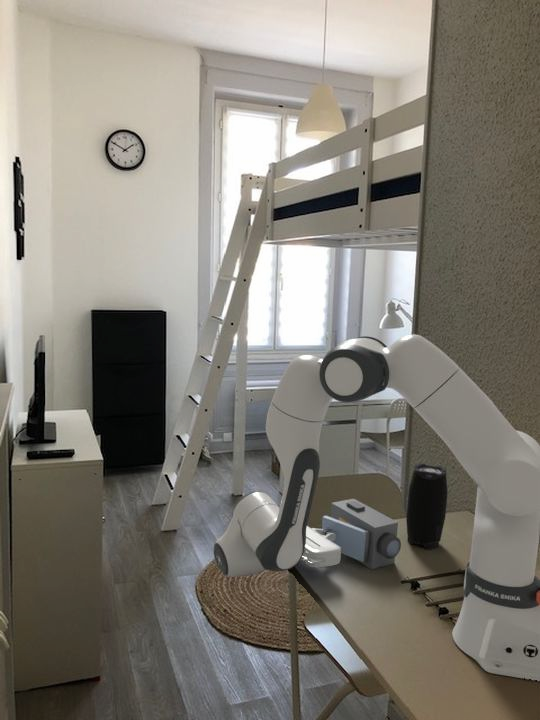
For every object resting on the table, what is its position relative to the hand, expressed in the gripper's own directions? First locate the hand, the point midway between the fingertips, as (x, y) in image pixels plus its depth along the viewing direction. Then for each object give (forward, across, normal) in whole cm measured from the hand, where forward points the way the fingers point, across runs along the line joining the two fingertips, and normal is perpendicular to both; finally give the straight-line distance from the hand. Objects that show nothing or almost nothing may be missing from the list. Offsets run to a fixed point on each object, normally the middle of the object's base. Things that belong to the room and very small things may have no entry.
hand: (331, 534), depth 143 cm
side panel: (+2, -3, +4) cm, 5 cm away
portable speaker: (+26, -5, +6) cm, 27 cm away
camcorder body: (+8, -3, +5) cm, 10 cm away
